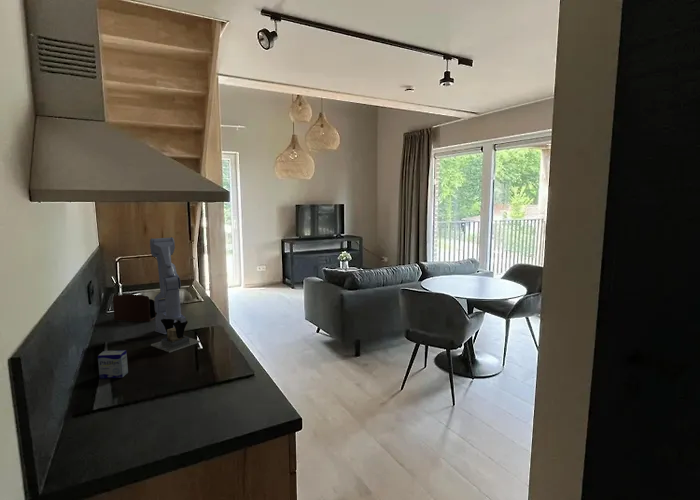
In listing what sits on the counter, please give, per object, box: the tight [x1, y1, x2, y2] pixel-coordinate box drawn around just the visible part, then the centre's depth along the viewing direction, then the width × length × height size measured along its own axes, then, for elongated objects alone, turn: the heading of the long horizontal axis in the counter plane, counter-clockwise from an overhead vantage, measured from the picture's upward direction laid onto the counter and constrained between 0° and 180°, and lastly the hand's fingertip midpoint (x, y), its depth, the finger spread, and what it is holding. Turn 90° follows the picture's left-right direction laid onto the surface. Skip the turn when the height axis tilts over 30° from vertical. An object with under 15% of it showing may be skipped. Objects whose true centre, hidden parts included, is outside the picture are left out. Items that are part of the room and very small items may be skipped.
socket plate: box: [150, 334, 201, 353], centre depth 169 cm, size 14×14×3 cm
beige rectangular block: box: [166, 328, 182, 341], centre depth 169 cm, size 4×4×6 cm
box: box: [97, 349, 129, 380], centre depth 138 cm, size 8×4×9 cm, turn 95°
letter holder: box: [112, 293, 157, 323], centre depth 207 cm, size 10×20×14 cm, turn 84°
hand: (175, 336), depth 169 cm, fingers open, 7 cm apart
